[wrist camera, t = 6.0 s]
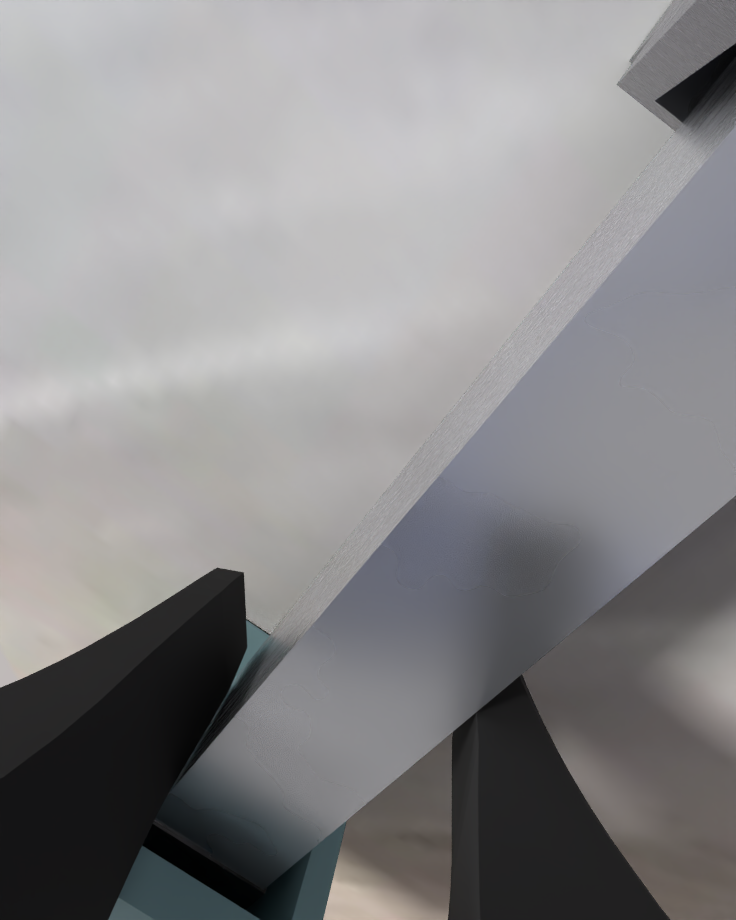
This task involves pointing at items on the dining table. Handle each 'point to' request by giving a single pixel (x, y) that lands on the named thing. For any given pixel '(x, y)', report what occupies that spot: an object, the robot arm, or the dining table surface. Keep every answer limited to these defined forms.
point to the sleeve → (682, 58)
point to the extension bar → (492, 527)
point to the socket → (207, 912)
